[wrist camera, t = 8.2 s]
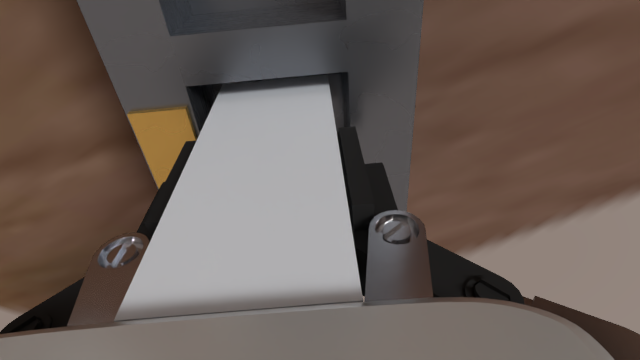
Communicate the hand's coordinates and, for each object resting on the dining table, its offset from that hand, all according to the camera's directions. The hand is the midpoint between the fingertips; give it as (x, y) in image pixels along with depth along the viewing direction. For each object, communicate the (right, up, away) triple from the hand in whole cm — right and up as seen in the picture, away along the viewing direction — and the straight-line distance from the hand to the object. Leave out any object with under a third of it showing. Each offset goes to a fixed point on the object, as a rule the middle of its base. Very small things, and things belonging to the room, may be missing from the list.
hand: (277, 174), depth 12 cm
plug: (0, +2, +3) cm, 3 cm away
